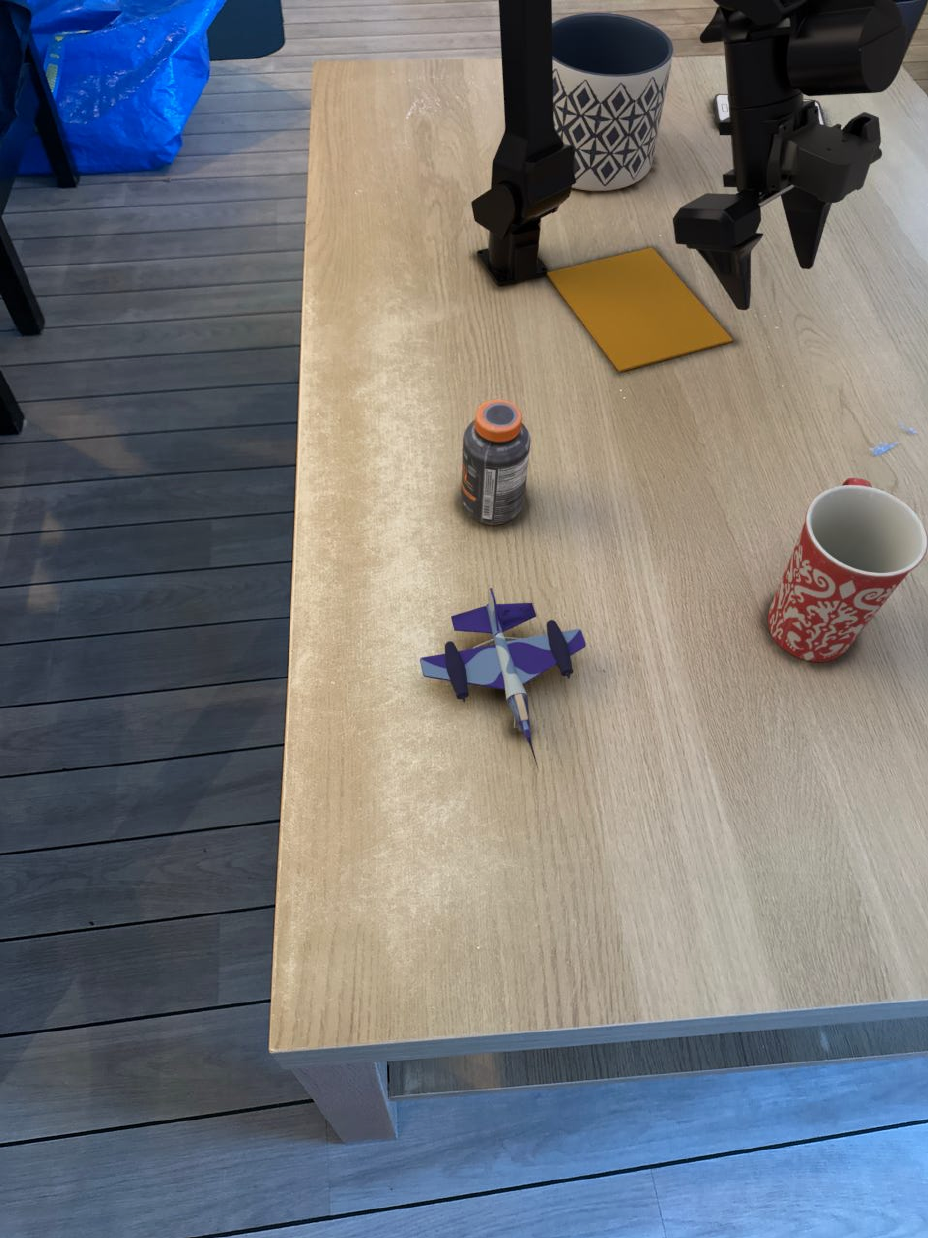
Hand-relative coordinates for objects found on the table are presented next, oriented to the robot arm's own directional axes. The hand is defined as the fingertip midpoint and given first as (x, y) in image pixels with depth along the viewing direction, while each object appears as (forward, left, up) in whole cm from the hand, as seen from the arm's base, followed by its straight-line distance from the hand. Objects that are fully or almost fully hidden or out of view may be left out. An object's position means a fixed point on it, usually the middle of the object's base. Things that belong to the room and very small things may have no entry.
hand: (775, 288), depth 86 cm
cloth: (-19, -1, -15) cm, 24 cm away
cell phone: (-49, +36, -15) cm, 63 cm away
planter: (-48, +8, -15) cm, 51 cm away
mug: (+24, -7, -15) cm, 29 cm away
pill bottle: (+2, -28, -15) cm, 32 cm away
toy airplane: (+21, -35, -15) cm, 43 cm away
